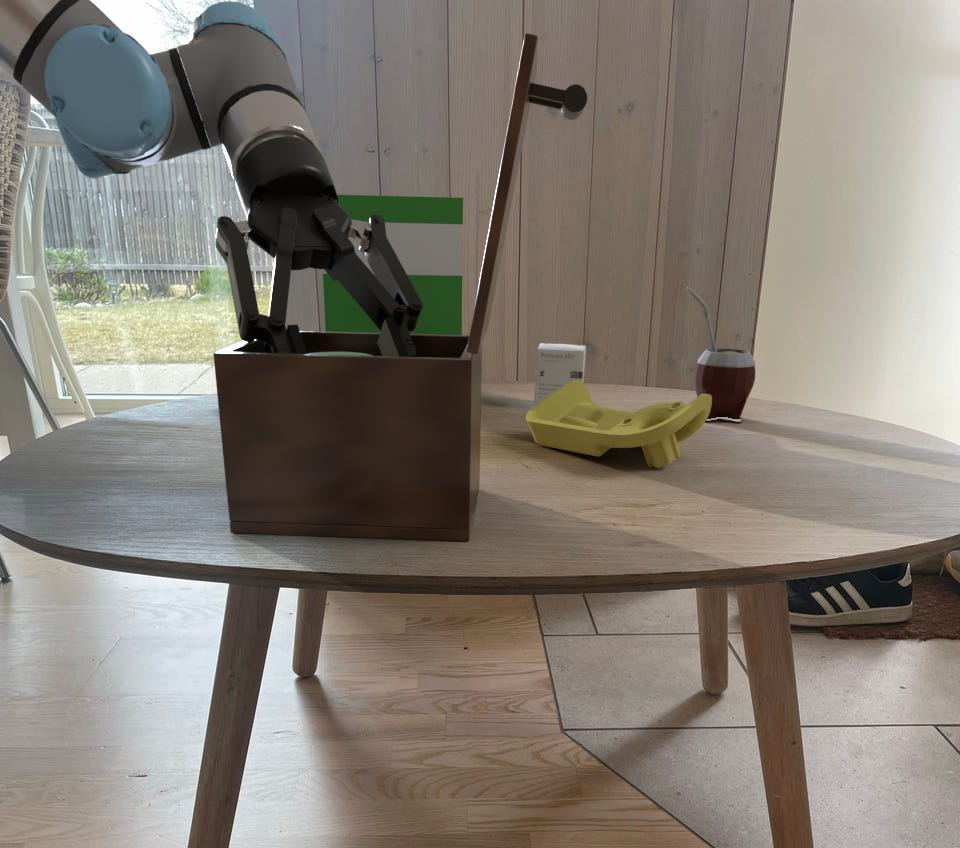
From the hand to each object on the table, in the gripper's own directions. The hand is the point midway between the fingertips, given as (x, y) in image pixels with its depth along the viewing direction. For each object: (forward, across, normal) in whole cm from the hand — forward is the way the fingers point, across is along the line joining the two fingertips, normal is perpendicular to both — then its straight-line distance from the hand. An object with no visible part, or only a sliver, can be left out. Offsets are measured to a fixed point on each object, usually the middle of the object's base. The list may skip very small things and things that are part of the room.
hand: (364, 403), depth 69 cm
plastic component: (-1, -31, -15) cm, 34 cm away
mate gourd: (-8, -53, -23) cm, 59 cm away
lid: (-8, -10, +11) cm, 17 cm away
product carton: (-19, -40, -33) cm, 55 cm away
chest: (+4, -1, -8) cm, 9 cm away
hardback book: (-32, -24, -45) cm, 60 cm away
